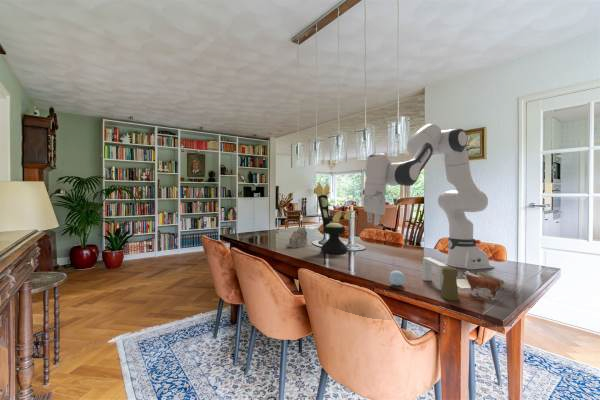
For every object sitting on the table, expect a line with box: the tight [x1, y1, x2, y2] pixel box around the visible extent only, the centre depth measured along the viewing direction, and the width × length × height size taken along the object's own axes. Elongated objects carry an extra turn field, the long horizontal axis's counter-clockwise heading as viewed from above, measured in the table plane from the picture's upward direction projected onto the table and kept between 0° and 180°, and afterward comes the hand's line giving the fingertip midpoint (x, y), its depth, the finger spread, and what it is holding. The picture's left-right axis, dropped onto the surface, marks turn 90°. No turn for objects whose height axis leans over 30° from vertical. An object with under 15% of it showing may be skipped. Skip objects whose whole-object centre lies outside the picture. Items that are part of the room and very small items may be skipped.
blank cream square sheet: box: [456, 278, 471, 290], centre depth 128 cm, size 12×12×1 cm
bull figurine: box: [462, 270, 500, 301], centre depth 114 cm, size 4×13×8 cm, turn 32°
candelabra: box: [314, 181, 353, 255], centre depth 194 cm, size 19×22×45 cm
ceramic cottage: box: [287, 224, 309, 249], centre depth 217 cm, size 16×16×15 cm
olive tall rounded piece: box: [440, 266, 460, 301], centre depth 112 cm, size 6×6×11 cm
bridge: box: [422, 256, 449, 291], centre depth 127 cm, size 3×15×10 cm, turn 3°
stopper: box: [476, 271, 505, 290], centre depth 129 cm, size 2×14×3 cm, turn 4°
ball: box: [388, 270, 405, 286], centre depth 126 cm, size 6×6×6 cm
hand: (372, 223), depth 131 cm, fingers open, 8 cm apart
